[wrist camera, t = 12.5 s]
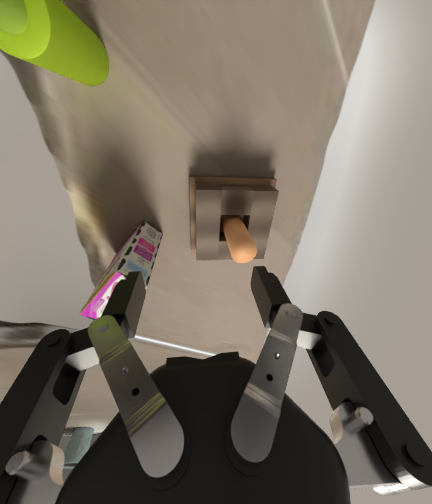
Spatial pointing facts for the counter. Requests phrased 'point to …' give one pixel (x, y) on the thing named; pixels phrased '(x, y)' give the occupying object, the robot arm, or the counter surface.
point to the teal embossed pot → (77, 446)
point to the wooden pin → (238, 239)
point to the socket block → (229, 212)
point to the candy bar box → (125, 267)
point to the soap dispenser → (52, 39)
